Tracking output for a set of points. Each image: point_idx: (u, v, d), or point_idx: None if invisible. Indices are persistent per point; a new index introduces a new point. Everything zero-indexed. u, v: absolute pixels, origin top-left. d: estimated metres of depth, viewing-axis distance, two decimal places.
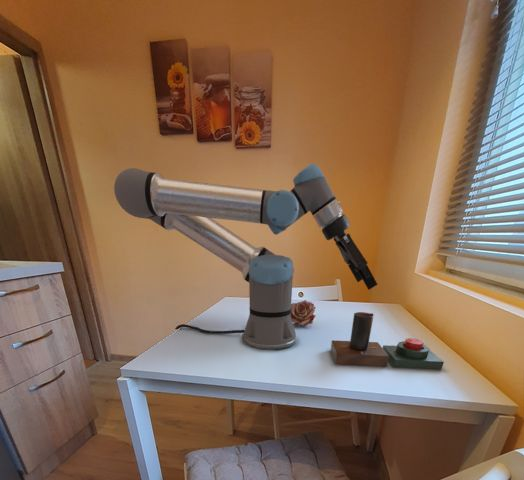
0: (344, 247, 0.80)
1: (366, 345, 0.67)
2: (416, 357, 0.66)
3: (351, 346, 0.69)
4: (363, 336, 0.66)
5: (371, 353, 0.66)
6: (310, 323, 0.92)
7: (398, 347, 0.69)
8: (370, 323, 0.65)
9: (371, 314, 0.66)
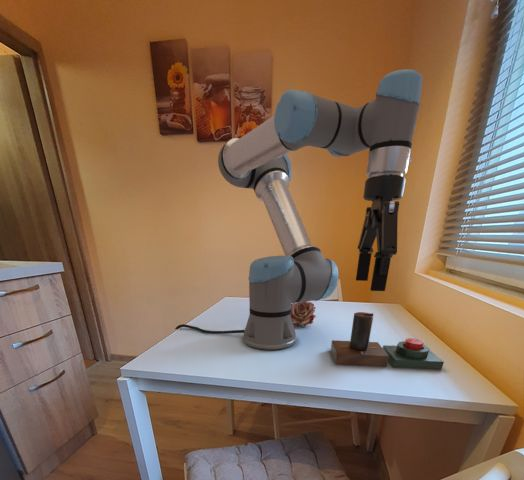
0: (378, 220, 0.56)
1: (366, 345, 0.67)
2: (416, 357, 0.66)
3: (351, 346, 0.69)
4: (363, 336, 0.66)
5: (371, 353, 0.66)
6: (310, 323, 0.92)
7: (398, 347, 0.69)
8: (370, 323, 0.65)
9: (371, 314, 0.66)
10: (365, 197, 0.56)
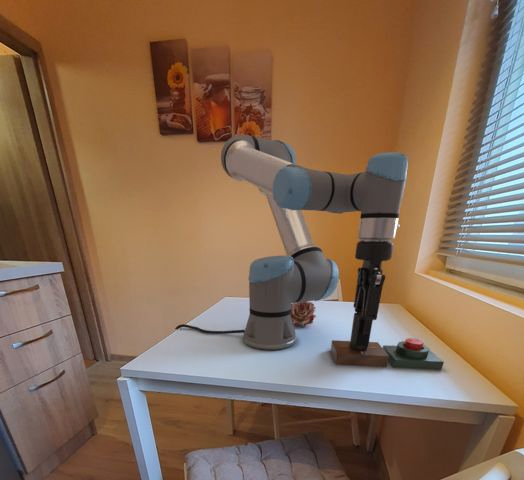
0: (368, 279, 0.60)
1: None
2: (416, 357, 0.66)
3: (351, 346, 0.69)
4: None
5: (371, 353, 0.66)
6: (310, 323, 0.92)
7: (398, 347, 0.69)
8: None
9: None
10: (356, 258, 0.61)
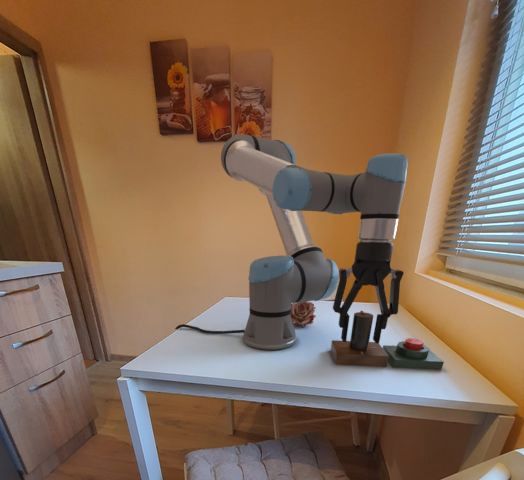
0: (383, 279, 0.62)
1: None
2: (416, 357, 0.66)
3: (364, 348, 0.67)
4: None
5: (371, 353, 0.66)
6: (310, 323, 0.92)
7: (398, 347, 0.69)
8: None
9: (363, 312, 0.68)
10: (380, 260, 0.58)
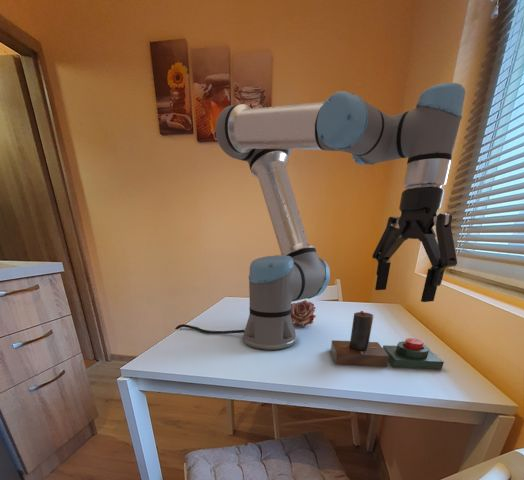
0: None
1: None
2: (416, 357, 0.66)
3: (364, 348, 0.67)
4: None
5: (371, 353, 0.66)
6: (310, 323, 0.92)
7: (398, 347, 0.69)
8: None
9: (363, 312, 0.68)
10: (408, 208, 0.55)
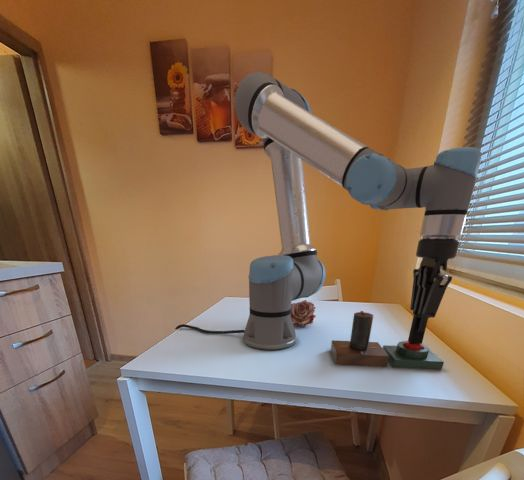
0: (432, 278, 0.59)
1: None
2: (416, 357, 0.66)
3: (364, 348, 0.67)
4: None
5: (371, 353, 0.66)
6: (310, 323, 0.92)
7: (398, 347, 0.69)
8: None
9: (363, 312, 0.68)
10: (419, 256, 0.60)
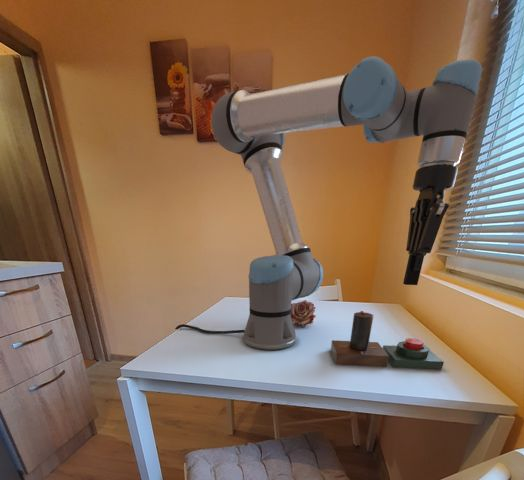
0: (428, 209, 0.57)
1: None
2: (416, 357, 0.66)
3: (364, 348, 0.67)
4: None
5: (371, 353, 0.66)
6: (310, 323, 0.92)
7: (398, 347, 0.69)
8: None
9: (363, 312, 0.68)
10: (416, 187, 0.58)
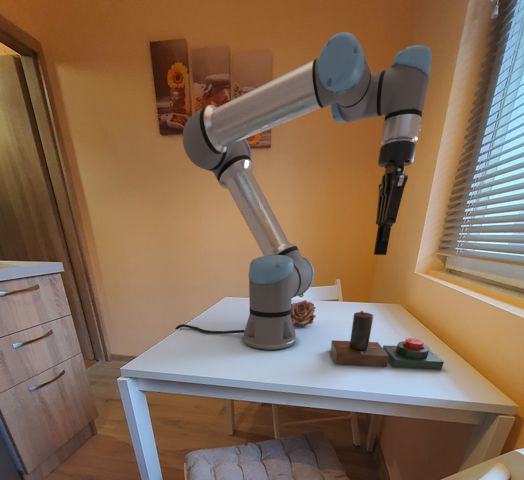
0: (391, 182, 0.63)
1: None
2: (416, 357, 0.66)
3: (364, 348, 0.67)
4: None
5: (371, 353, 0.66)
6: (310, 323, 0.92)
7: (398, 347, 0.69)
8: None
9: (363, 312, 0.68)
10: (380, 162, 0.64)
